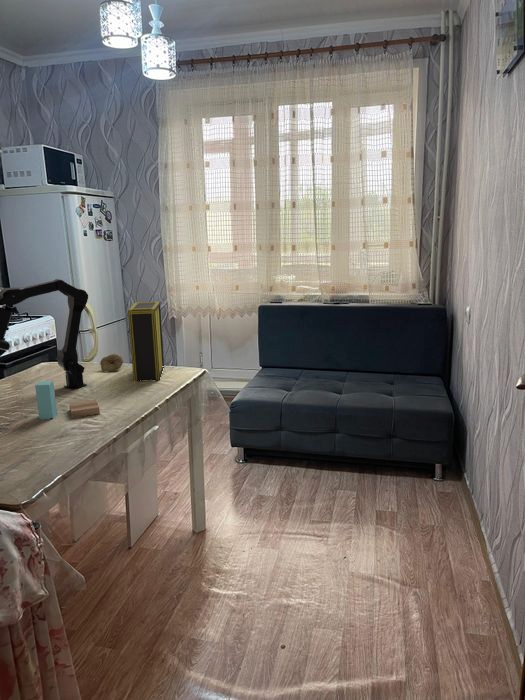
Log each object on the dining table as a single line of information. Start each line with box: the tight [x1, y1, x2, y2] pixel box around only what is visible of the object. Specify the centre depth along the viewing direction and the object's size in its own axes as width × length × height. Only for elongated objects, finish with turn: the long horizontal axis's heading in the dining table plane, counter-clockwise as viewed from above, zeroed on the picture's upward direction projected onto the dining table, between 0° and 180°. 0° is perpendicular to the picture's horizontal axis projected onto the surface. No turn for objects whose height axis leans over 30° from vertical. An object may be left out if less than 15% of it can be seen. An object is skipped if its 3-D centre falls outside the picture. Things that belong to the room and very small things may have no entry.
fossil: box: [99, 353, 124, 372], centre depth 236 cm, size 9×4×10 cm
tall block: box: [34, 380, 58, 420], centre depth 178 cm, size 4×4×12 cm
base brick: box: [68, 399, 101, 419], centre depth 183 cm, size 9×9×2 cm
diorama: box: [127, 301, 165, 382], centre depth 224 cm, size 21×11×30 cm, turn 5°
